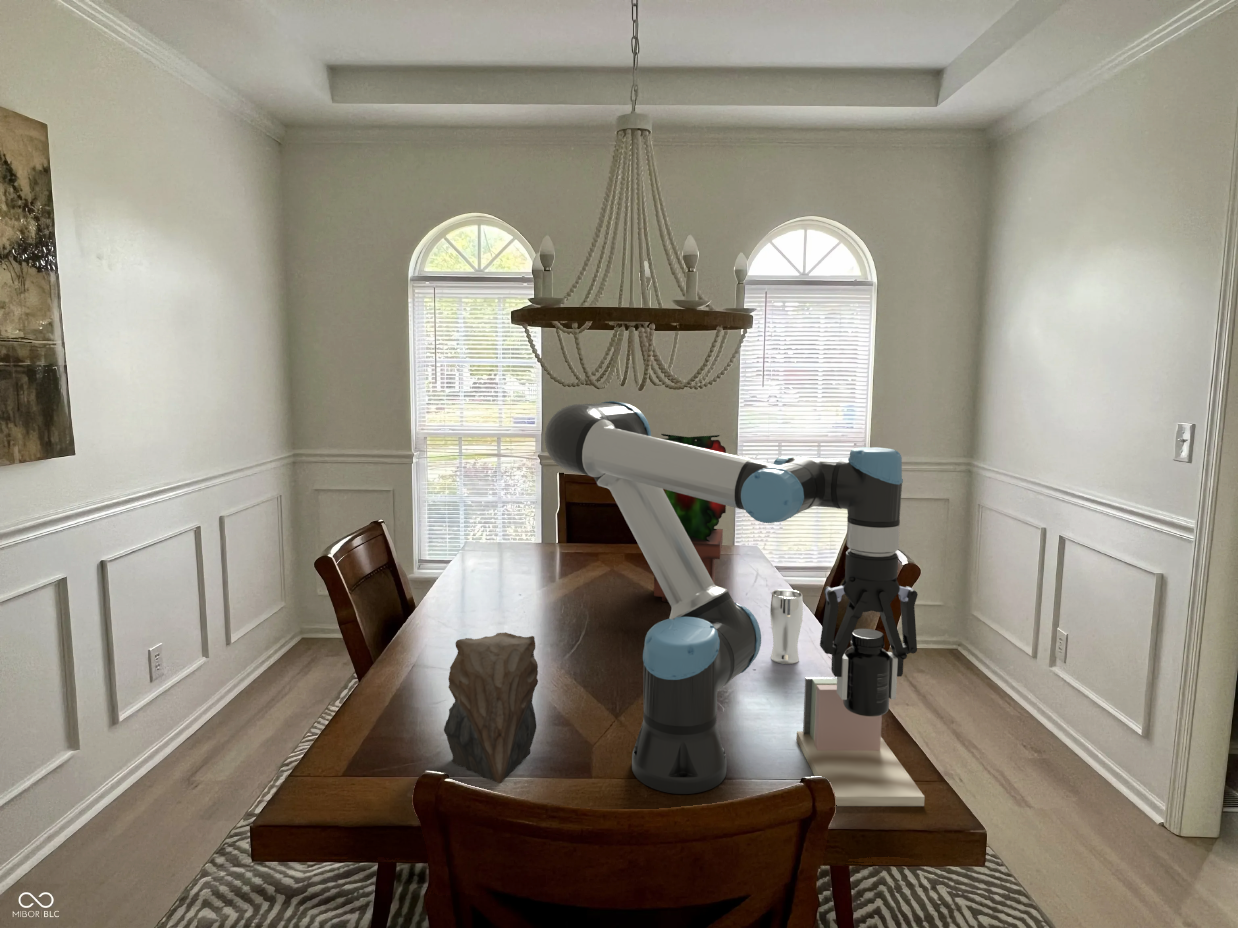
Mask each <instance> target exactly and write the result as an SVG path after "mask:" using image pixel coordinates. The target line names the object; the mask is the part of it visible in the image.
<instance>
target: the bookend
mask: <svg viewBox="0 0 1238 928" xmlns="http://www.w3.org/2000/svg"><path fill="white" fill-rule="evenodd" d="M812 679H837V677H835V676H805V677H804V693H803V694H804V696H803V697H804V699H803V719H802V720H803V721H802V723H803V724H802V725H803V727H802V731H803V733H804V735H810V721H811V697H812Z"/></svg>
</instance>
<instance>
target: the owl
mask: <svg viewBox="0 0 1238 928" xmlns="http://www.w3.org/2000/svg"><path fill="white" fill-rule="evenodd" d="M455 649H456V650H457V653H456V656H455V657H454V660H453V661H452V663H451V665H450V667H449V668H450V669H449V672H448V673H449V675H448V689H449V691H450V693H451V695H452V697H453V698H454V702H453V703H452V705H451V706H450V708H449V709H448V712H449V713H448V716H447V719H446V721H445V725H444V728H443V732H444V734H445V736H446V738H447V742H448V745H449V750H450V752H451V754H452V760H451V761H452V763H453V764H455V765H457V766H459V767H464V768H465V769H466V770H467V771H471V772H473V773H475V774H478V775H480V777H482V778H484V779H488V780H492V781H493V782H495V783H498V784H502V783H503V781H504V780H505V779H506V778H507V777H508V776H509V775H510V774H511V773H513V772H514V770H515V769H516V767H517V766H519V765H521V764H522V762H523V760H524V759H525V758H526V757H528V756H529V755H530V754H531V747H532V745H533V741H534V739H535V736H536V735H535V734H536V732H537V718H536V713H535V708H534V704H533V699H534V692H535V689H536V687H537V685H538V683H539V679H538V675H539V670H538V669H539V666H538V665H539V663H538V661H537V659H536V658H535V655H534V654H535V653H534V652H535V650H536V641H535V636H533V635H531V636H530V635H529V636H522V635H516V634H512V633H508V632H497V633H496V634H495V635H491V636H483V637H480V638H471V637H470V638H469V637H465V638H461V639H457V640H456V641H455Z"/></svg>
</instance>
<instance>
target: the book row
mask: <svg viewBox="0 0 1238 928" xmlns="http://www.w3.org/2000/svg"><path fill="white" fill-rule="evenodd" d="M882 719H883V715H880V716H862V715H858V714H855V713H852V712H850V711H849V710H847V709H846V707H845V706H844V704H843V700H842V699H841V698H840V696H839V695H838V693H837V679H812V697H811V721H810V736H811V737H812V739H813V740H814V741H815V742H814V745H815V747H816V749H817V750H880V743H881V737H882V723H883V720H882Z"/></svg>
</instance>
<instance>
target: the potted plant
mask: <svg viewBox="0 0 1238 928" xmlns="http://www.w3.org/2000/svg"><path fill="white" fill-rule="evenodd" d="M661 436H663V437H666V438H663V439H664V440H668V441H673V442H677V443H682V444H686V445H691V446H695V447H699V448H704V449H708V450H713V451H717V452H722V453H726V454H727V449H726V447H725V446H724V445H722V444H721V440H719V439H712V438H718V437H720V436H721V435H720V434H716V435H715V434H714V435H698V436H697V435H696V436H683V435H675V434H666V433H661ZM663 490H664V492H665V494H666V496H667V498H668V500H669V501H670V503H671V505H672V507H673V509H674V511H675V513H676V514H677V516H678V518H679V520H680V522H681V524H682V525H683V527H684V529H685V531H686V533H687V535H688V537H689V538H690V540H691V542H692V544H693V546H694V548H695V549H696V551H697V553H698V555H699V557H700V559H701V560H702V562H703V564H704V566H705V568H706V570H707V572H708V573H709V575H710V577H711V579H712V581H713V583H714V584H715V578H716V577H715V574H716V571H715V570H716V560H720V559H721V554H722V548H723V537H724V536H723V533H724V530H723V528H715V527H716V526H718V525H719V523H720V519H721V518H722V516H723V514H726V511H727V510H726V509H727V505H723V504H719V503H715V502H712V501H708V500H704V499H700V498H696V497H693V496H689V495H685V494H681V493H677V492H673V491H670V490H666V489H663ZM653 576H654V577H653V580H654V581H653V596H654V597H661V602H664V603H665V602H668V600H667V598H666V596H665V594H664V592H663V590H662V588H661V586H660V584H659V583H658V581H657V579H656V577H655V575H654V574H653ZM668 603H669V602H668Z"/></svg>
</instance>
